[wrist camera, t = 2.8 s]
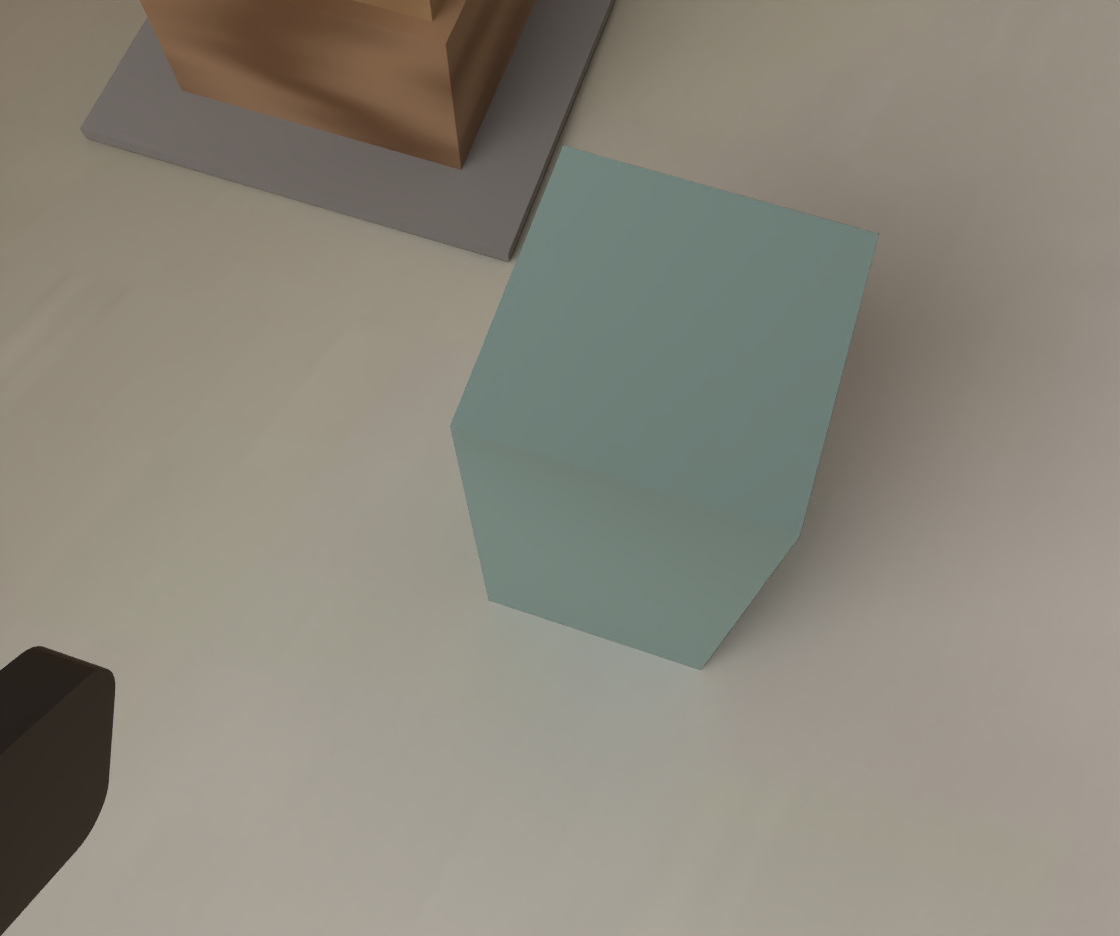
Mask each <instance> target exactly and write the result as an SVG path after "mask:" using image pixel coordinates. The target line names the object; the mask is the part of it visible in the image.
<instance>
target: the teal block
mask: <svg viewBox="0 0 1120 936" xmlns="http://www.w3.org/2000/svg"><path fill="white" fill-rule="evenodd" d="M878 235H879V234H878V233H874V232H871V231H867V230H863V229H860V228H856V227H853V226H849V225H846V224H842V223H838V222H835V221H831V220H828V219H824V218H821V217H817V216H813V215H810V214H806V213H803V212H799V211H795V210H792V209H788V208H785V207H781V206H778V205H774V204H770V203H767V202H763V201H760V200H756V199H753V198H749V197H745V196H742V195H738V194H735V193H731V192H727V191H724V190H720V189H717V188H713V187H710V186H706V185H702V184H699V183H695V182H692V181H688V180H685V179H681V178H677V177H674V176H670V175H667V174H663V173H659V172H656V171H652V170H649V169H645V168H642V167H638V166H634V165H631V164H627V163H624V162H620V161H617V160H613V159H609V158H606V157H602V156H599V155H595V154H592V153H588V152H584V151H581V150H577V149H574V148H570V147H566V146H563V147H562V149H561V152H560V154H559V157H558V159H557V162H556V164H555V167H554V169H553V172H552V174H551V177H550V179H549V182H548V184H547V187H546V189H545V192H544V194H543V197H542V199H541V202H540V204H539V207H538V209H537V212H536V214H535V217H534V219H533V222H532V224H531V227H530V229H529V232H528V234H527V236H526V239H525V241H524V244H523V246H522V249H521V251H520V254H519V256H518V259H517V261H516V264H515V266H514V269H513V271H512V274H511V276H510V279H509V281H508V284H507V286H506V289H505V291H504V294H503V296H502V299H501V301H500V304H499V306H498V309H497V311H496V314H495V316H494V319H493V321H492V324H491V326H490V329H489V331H488V334H487V336H486V339H485V341H484V344H483V346H482V348H481V351H480V353H479V356H478V358H477V361H476V363H475V366H474V368H473V371H472V373H471V376H470V378H469V381H468V383H467V386H466V388H465V391H464V393H463V396H462V398H461V401H460V403H459V406H458V408H457V411H456V413H455V416H454V418H453V421H452V423H451V426H450V428H451V432H452V437H453V441H454V446H455V450H456V455H457V459H458V464H459V468H460V473H461V477H462V482H463V486H464V491H465V495H466V500H467V505H468V509H469V514H470V518H471V523H472V527H473V532H474V536H475V541H476V545H477V550H478V554H479V559H480V563H481V568H482V572H483V577H484V581H485V586H486V591H487V595H488V600H489V601H492V602H495V603H498V604H502V605H505V606H508V607H511V608H514V609H517V610H520V611H523V612H526V613H529V614H532V615H535V616H538V617H541V618H544V619H547V620H550V621H553V622H556V623H559V624H562V625H565V626H568V627H571V628H574V629H577V630H580V631H584V632H587V633H590V634H593V635H596V636H599V637H602V638H605V639H608V640H611V641H614V642H617V643H620V644H623V645H626V646H629V647H632V648H635V649H638V650H641V651H644V652H647V653H650V654H653V655H656V656H659V657H663V658H666V659H669V660H672V661H675V662H678V663H681V664H684V665H687V666H690V667H693V668H696V669H699V670H701V669H702V668H703V666H704V665H705V664H706V662H707V661H708V660H709V658H710V657H711V656H712V654H713V653H714V651H715V650H716V649H717V647H718V646H719V645H720V643H721V642H722V641H723V639H724V638H725V637H726V635H727V634H728V632H729V631H730V630H731V628H732V627H733V626H734V624H735V623H736V622H737V620H738V619H739V618H740V616H741V615H742V613H743V612H744V611H745V609H746V608H747V607H748V605H749V604H750V603H751V601H752V600H753V599H754V597H755V596H756V594H757V593H758V592H759V590H760V589H761V588H762V586H763V585H764V584H765V582H766V581H767V580H768V578H769V577H770V575H771V574H772V573H773V571H774V570H775V569H776V567H777V566H778V565H779V563H780V562H781V561H782V559H783V558H784V556H785V555H786V554H787V552H788V551H789V550H790V548H791V547H792V546H793V544H794V543H795V542H796V540H797V539H798V537H799V536H800V533H801V529H802V526H803V522H804V518H805V514H806V510H807V507H808V503H809V499H810V495H811V491H812V487H813V484H814V480H815V476H816V472H817V468H818V465H819V461H820V457H821V453H822V449H823V445H824V442H825V438H826V434H827V430H828V426H829V423H830V419H831V415H832V411H833V407H834V403H835V400H836V396H837V392H838V388H839V384H840V380H841V377H842V373H843V369H844V365H845V361H846V358H847V354H848V350H849V346H850V342H851V338H852V335H853V331H854V327H855V323H856V319H857V316H858V312H859V308H860V304H861V300H862V296H863V293H864V289H865V285H866V281H867V277H868V274H869V270H870V266H871V262H872V258H873V254H874V251H875V247H876V243H877V239H878Z"/></svg>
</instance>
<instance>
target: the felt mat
mask: <svg viewBox="0 0 1120 936" xmlns="http://www.w3.org/2000/svg"><path fill="white" fill-rule="evenodd" d="M614 1H615V0H536V1H535V3H534V6H533V8H532V10H531V12H530V15H529V17H528V19H527V22H526V24H525V26H524V28H523V31H522V33H521V35H520V38H519V40H518V42H517V44H516V47H515V49H514V51H513V53H512V56H511V58H510V60H509V63H508V65H507V67H506V69H505V72H504V74H503V76H502V78H501V81H500V83H499V85H498V88H497V90H496V92H495V94H494V97H493V99H492V101H491V104H490V106H489V108H488V110H487V113H486V115H485V117H484V119H483V122H482V124H481V126H480V129H479V131H478V133H477V135H476V138H475V140H474V142H473V144H472V147H471V149H470V151H469V154H468V156H467V158H466V160H465V163H464V165H463V167H462V170H459V169H456V168H452V167H449V166H445V165H442V164H438V163H435V162H431V161H428V160H424V159H421V158H417V157H414V156H410V155H407V154H403V153H400V152H396V151H393V150H389V149H386V148H382V147H379V146H375V145H372V144H368V143H365V142H361V141H358V140H354V139H351V138H347V137H344V136H340V135H337V134H333V133H330V132H326V131H323V130H319V129H316V128H312V127H309V126H305V125H302V124H298V123H295V122H291V121H288V120H284V119H281V118H277V117H274V116H270V115H267V114H263V113H260V112H256V111H253V110H249V109H245V108H242V107H238V106H235V105H231V104H228V103H224V102H221V101H217V100H214V99H210V98H207V97H203V96H200V95H196V94H193V93H189V92H186V91H182V89H181V87H180V85H179V83H178V80H177V78H176V76H175V74H174V72H173V70H172V68H171V66H170V63H169V61H168V59H167V57H166V55H165V53H164V51H163V48H162V46H161V44H160V42H159V40H158V38H157V36H156V33H155V31H154V29H153V27H152V25H151V23H150V21H149V18H148V17H147V19H146V21H145V22H144V24H143V26H142V27H141V29H140V31H139V32H138V34H137V36H136V37H135V39H134V41H133V42H132V44H131V45H130V47H129V49H128V50H127V52H126V54H125V55H124V57H123V59H122V60H121V62H120V64H119V65H118V67H117V69H116V70H115V72H114V74H113V75H112V77H111V79H110V80H109V82H108V83H107V85H106V87H105V88H104V90H103V92H102V93H101V95H100V97H99V98H98V100H97V102H96V103H95V105H94V107H93V108H92V110H91V112H90V113H89V115H88V117H87V118H86V120H85V121H84V123H83V125H82V126H81V128H80V129H81V130H82V132H83V134H84V135H85V137H86V138H87V139H91V140H94V141H98V142H101V143H104V144H108V145H111V146H115V147H118V148H121V149H125V150H128V151H132V152H135V153H138V154H142V155H145V156H149V157H152V158H155V159H159V160H162V161H166V162H169V163H173V164H176V165H179V166H183V167H186V168H190V169H193V170H196V171H200V172H203V173H207V174H210V175H213V176H217V177H220V178H224V179H227V180H230V181H234V182H237V183H241V184H244V185H248V186H251V187H254V188H258V189H261V190H265V191H268V192H271V193H275V194H278V195H282V196H285V197H288V198H292V199H295V200H299V201H302V202H305V203H309V204H312V205H316V206H319V207H323V208H326V209H329V210H333V211H336V212H340V213H343V214H346V215H350V216H353V217H357V218H360V219H363V220H367V221H370V222H374V223H377V224H380V225H384V226H387V227H391V228H394V229H397V230H401V231H404V232H408V233H411V234H415V235H418V236H421V237H425V238H428V239H432V240H435V241H438V242H442V243H445V244H449V245H452V246H455V247H459V248H462V249H466V250H469V251H472V252H476V253H479V254H483V255H486V256H490V257H493V258H496V259H500V260H503V261H507V262H509V260H510V258H511V255H512V253H513V250H514V248H515V245H516V243H517V240H518V238H519V235H520V233H521V230H522V228H523V226H524V223H525V221H526V218H527V216H528V213H529V211H530V208H531V206H532V203H533V201H534V198H535V196H536V193H537V191H538V188H539V186H540V184H541V181H542V179H543V176H544V174H545V171H546V169H547V166H548V164H549V161H550V159H551V156H552V154H553V151H554V149H555V146H556V144H557V142H558V139H559V137H560V134H561V132H562V129H563V127H564V124H565V122H566V119H567V117H568V114H569V112H570V109H571V107H572V104H573V102H574V100H575V97H576V95H577V92H578V90H579V87H580V85H581V82H582V80H583V77H584V75H585V72H586V70H587V67H588V65H589V62H590V60H591V58H592V55H593V53H594V50H595V48H596V45H597V43H598V40H599V38H600V35H601V33H602V30H603V28H604V25H605V23H606V20H607V18H608V16H609V13H610V11H611V8H612V6H613V3H614Z"/></svg>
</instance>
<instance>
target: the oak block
mask: <svg viewBox="0 0 1120 936" xmlns="http://www.w3.org/2000/svg"><path fill="white" fill-rule="evenodd" d="M354 1H357V2H361V3H365V4H368V5H372V6H376V7H379V8H383V9H387V10H391V11H394V12H398V13H402V14H405V15H409V16H413V17H416V18H420V19H424V20H428V21H431V22H433V20H434V18H435V16H436V14H437V11H438V9H439V7H440V5H441V3H442V1H443V0H354Z"/></svg>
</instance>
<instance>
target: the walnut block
mask: <svg viewBox="0 0 1120 936" xmlns="http://www.w3.org/2000/svg"><path fill="white" fill-rule="evenodd" d="M140 1H141V4H142V6H143V8H144V10H145V12H146V14H147V16H148V18H149V21H150V23H151V25H152V27H153V29H154V31H155V33H156V36H157V38H158V40H159V42H160V44H161V46H162V48H163V51H164V53H165V55H166V57H167V59H168V61H169V63H170V66H171V68H172V70H173V72H174V74H175V76H176V78H177V80H178V83H179V85H180V87H181V89H182V91H186V92H189V93H193V94H196V95H200V96H203V97H207V98H210V99H214V100H217V101H221V102H224V103H228V104H231V105H235V106H238V107H242V108H245V109H249V110H253V111H256V112H260V113H263V114H267V115H270V116H274V117H277V118H281V119H284V120H288V121H291V122H295V123H298V124H302V125H305V126H309V127H312V128H316V129H319V130H323V131H326V132H330V133H333V134H337V135H340V136H344V137H347V138H351V139H354V140H358V141H361V142H365V143H368V144H372V145H375V146H379V147H382V148H386V149H389V150H393V151H396V152H400V153H403V154H407V155H410V156H414V157H417V158H421V159H424V160H428V161H431V162H435V163H438V164H442V165H445V166H449V167H452V168H456V169H459V170H462V167H463V165H464V163H465V160H466V158H467V156H468V154H469V151H470V149H471V147H472V144H473V142H474V140H475V138H476V135H477V133H478V131H479V129H480V126H481V124H482V122H483V119H484V117H485V115H486V113H487V110H488V108H489V106H490V104H491V101H492V99H493V97H494V94H495V92H496V90H497V88H498V85H499V83H500V81H501V78H502V76H503V74H504V72H505V69H506V67H507V65H508V63H509V60H510V58H511V56H512V53H513V51H514V49H515V47H516V44H517V42H518V40H519V38H520V35H521V33H522V31H523V28H524V26H525V24H526V22H527V19H528V17H529V15H530V12H531V10H532V8H533V6H534V3H535V1H536V0H443V1H442V3H441V5H440V7H439V9H438V11H437V14H436V16H435V18H434V20H433V22H431V21H428V20H424V19H420V18H416V17H413V16H409V15H405V14H402V13H398V12H394V11H391V10H387V9H383V8H379V7H376V6H372V5H368V4H365V3H361V2H357V1H354V0H140Z"/></svg>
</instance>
